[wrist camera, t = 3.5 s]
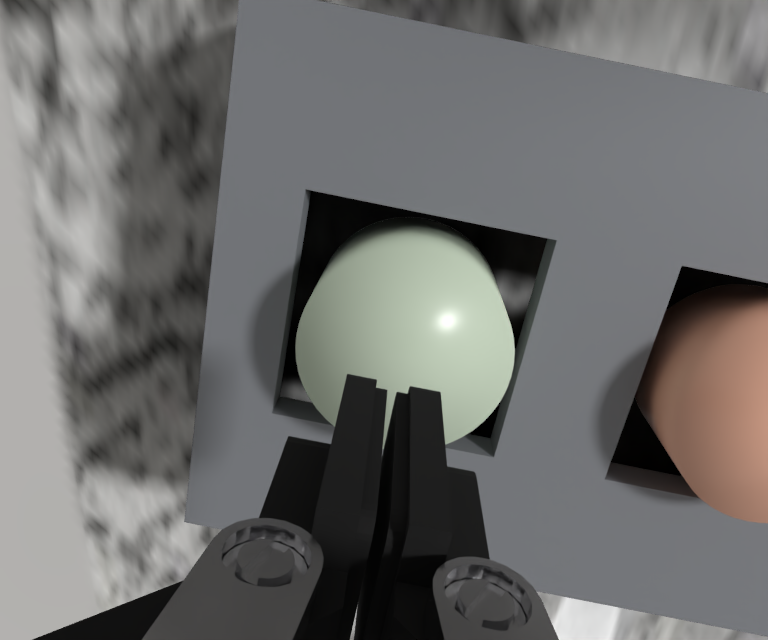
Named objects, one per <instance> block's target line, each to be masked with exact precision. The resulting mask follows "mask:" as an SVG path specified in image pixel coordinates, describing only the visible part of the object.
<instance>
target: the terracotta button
mask: <svg viewBox="0 0 768 640" xmlns="http://www.w3.org/2000/svg"><path fill="white" fill-rule="evenodd" d="M635 399H636V402H637V404H638V406H639V408H640V410H641V412H642V414H643V415H644V417H645V418H646V420H647V422H648V423H649V425H650V426H651V428H652V429H653V431H654V432H655V434H656V436H657V437H658V439H659V440H660V442H661V443H662V445H663V446H664V448H665V450H666V451H667V453H668V454H669V456H670V457H671V459H672V460H673V462H674V463H675V465H676V467H677V468H678V470H679V471H680V473H681V474H682V476H683V477H684V479H685V481H686V482H687V483H688V485H689V486H690V488H691V489H692V490H693V492H694V493H695V494H696V495H697V496H698V497H699V498H700V499H701V500H703V501H704V502H705V503H707V504H708V505H709V506H711V507H712V508H714V509H716V510H718V511H719V512H721V513H723V514H726V515H728V516H731V517H733V518H737V519H741V520H745V521H750V522H757V523H768V288H765V287H761V286H756V285H749V284H729V285H720V286H716V287H712V288H707V289H705V290H702V291H699V292H696V293H694V294H692V295H690V296H688V297H686V298H684V299H682V300H681V301H679V302H677V303H676V304H674V305H673V306H671V307H670V308H669V309H668V310H666V311H665V314H664V316H663V319H662V322H661V325H660V327H659V330H658V333H657V336H656V338H655V341H654V344H653V347H652V350H651V352H650V355H649V358H648V361H647V363H646V366H645V369H644V372H643V374H642V377H641V380H640V383H639V385H638V388H637V391H636V394H635Z"/></svg>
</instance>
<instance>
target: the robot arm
mask: <svg viewBox="0 0 768 640" xmlns="http://www.w3.org/2000/svg"><path fill="white" fill-rule="evenodd" d="M376 385H377V379H372V378H366V377H361V376H356V375H351V374H347V377H346V381H345V385H344V390H343V394H342V398H341V403H340V407H339V411H338V416H337V420H336V424H335V429H334V433H333V437H332V442H331V444H328V443H323V442H318V441H313V440H307V439H302V438H297V437H292V436H288V438H287V441H286V443H285V446H284V449H283V452H282V455H281V457H280V460H279V463H278V466H277V468H276V471H275V474H274V477H273V480H272V482H271V485H270V488H269V491H268V494H267V496H266V499H265V502H264V505H263V508H262V510H261V513H260V516H259V518H251V519H247V520H243V521H238V522H235V523H233V524H232V525H230V526H228V527H226V528H224V529H222V530H221V531H220V532H219V533H218V534H217V535H216V536H215V537H214V538H213V540H212V541H211V542H210V544H209V545H208V547H207V548H206V549H205V551H204V552H203V554H202V555H201V557H200V558H199V559H198V561H197V562H196V564H195V565H194V566H193V568H192V569H191V571H190V572H189V574H188V575H187V576H186V578H185V579H184V581H181V582H179V583H176V584H173V585H171V586H168V587H166V588H163V589H161V590H158V591H156V592H153V593H150V594H148V595H145V596H143V597H140V598H138V599H135V600H133V601H130V602H127V603H125V604H122V605H120V606H117V607H115V608H112V609H110V610H107V611H104V612H102V613H99V614H97V615H94V616H92V617H89V618H87V619H84V620H82V621H79V622H76V623H74V624H71V625H69V626H66V627H64V628H61V629H59V630H56V631H53V632H51V633H48V634H46V635H43V636H41V637H38V638H36V639H33V640H350V635H351V631H352V626H353V622H354V617H355V613H356V609H357V617H356V626H355V635H354V640H559V639H558V637H557V635H556V632H555V630H554V628H553V625H552V623H551V621H550V618H549V616H548V614H547V611H546V609H545V607H544V605H543V602H542V600H541V598H540V597H539V595H538V593H537V592H536V590H535V589H534V587H533V586H532V585H531V584H530V583H529V582H528V581H527V580H526V579H525V578H524V577H523V576H522V575H520V574H519V573H517V572H515V571H514V570H512V569H511V568H509V567H508V566H505V565H503V564H500V563H498V562H495V561H493V560H490V557H489V551H488V545H487V539H486V532H485V526H484V520H483V514H482V508H481V501H480V495H479V489H478V483H477V477H476V473H475V472H474V471H469V470H464V469H459V468H454V467H448V466H447V459H446V447H445V436H444V424H443V413H442V401H441V393H440V392H439V391H433V390H428V389H423V388H418V387H413V386H410V387H409V390H408V394H406V393H401V392H397V393H396V396H395V400H394V405H393V409H392V414H391V418H390V423H389V427H388V432H387V436H386V441H385V445H384V450H383V455H382V448H383V437H384V425H385V414H386V402H387V390H386V389H381V388H376ZM357 604H358V608H357Z"/></svg>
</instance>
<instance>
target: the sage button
mask: <svg viewBox="0 0 768 640" xmlns="http://www.w3.org/2000/svg"><path fill="white" fill-rule="evenodd" d="M295 350H296V363H297V368H298V373H299V376H300V379H301V382H302V385H303V387H304V389H305V391H306V393H307V395H308V397H309V398H310V400H311V401H312V403H313V404H314V406H315V407H316V409H317V410H318V411H319V412H320V413H321V414H322V415H323V417H324V418H325V419H326V420H328V421H329V422H330V423H331V424H332V425H333V426H334V427H335V424H336V420H337V416H338V411H339V407H340V403H341V398H342V394H343V390H344V385H345V381H346V377H347V374H351V375H356V376H361V377H366V378H372V379H377V385H376V388H381V389H386V390H387V402H386V414H385V425H384V437H383V448H382V449H384V445H385V441H386V436H387V432H388V427H389V423H390V418H391V414H392V409H393V405H394V400H395V396H396V393H397V392H401V393H406V394H408V390H409V387H410V386H413V387H418V388H423V389H428V390H433V391H439V392H440V393H441V401H442V413H443V424H444V436H445V444H448V443H451V442H453V441H455V440H457V439H459V438H462V437H463V436H465V435H466V434H468V433H470V432H471V431H473V430H474V429H475V428H477V427H478V426H479V425H480V424H481V423H483V422H484V421H485V420H486V419H487V418H488V417H489V416H490V414H491V413H492V412H493V411H494V410H495V408H496V407H497V405H498V404H499V403H500V401H501V399H502V398H503V396H504V394H505V392H506V390H507V387H508V385H509V382H510V379H511V376H512V371H513V366H514V356H515V346H514V336H513V332H512V327H511V323H510V320H509V317H508V315H507V312H506V309H505V306H504V303H503V300H502V297H501V294H500V292H499V289H498V286H497V283H496V280H495V277H494V275H493V272H492V269H491V267H490V265H489V264H488V262H487V260H486V258H485V257H484V255H483V254H482V253H481V251H480V250H479V249H478V248H477V247H476V246H475V245H474V244H473V243H472V242H471V241H470V240H469V239H468V238H467V237H465V236H464V235H463V234H462V233H460V232H458V231H457V230H455V229H453V228H452V227H450V226H447V225H445V224H443V223H440V222H438V221H434V220H430V219H426V218H419V217H397V218H389V219H386V220H382V221H378V222H375V223H373V224H371V225H368V226H366V227H364V228H362V229H361V230H359V231H357V232H356V233H354V234H353V235H352V236H350V237H349V238H348V239H347V240H346V241H345V242H344V243H343V244H342V245H341V246H340V247H339V248H338V249H337V250H336V252H335V253H334V254H333V256H332V257H331V259H330V260H329V262H328V264H327V266H326V268H325V270H324V272H323V273H322V275H321V277H320V279H319V281H318V283H317V285H316V287H315V289H314V291H313V293H312V295H311V297H310V299H309V301H308V302H307V304H306V306H305V308H304V311H303V313H302V316H301V319H300V321H299V325H298V330H297V334H296V345H295Z"/></svg>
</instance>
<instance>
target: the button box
mask: <svg viewBox="0 0 768 640" xmlns="http://www.w3.org/2000/svg"><path fill="white" fill-rule="evenodd" d="M311 191H316V192H321V193H326V194H331V195H336V196H341V197H346V198H351V199H356V200H361V201H365V202H370V203H375V204H380V205H385V206H390V207H395V208H400V209H405V210H410V211H415V212H420V213H425V214H430V215H434V216H439V217H444V218H449V219H454V220H459V221H464V222H469V223H474V224H479V225H484V226H489V227H494V228H499V229H503V230H508V231H513V232H518V233H523V234H528V235H533V236H538V237H543V238H547V242H546V245H545V249H544V252H543V256H542V259H541V263H540V266H539V270H538V273H537V277H536V280H535V284H534V287H533V291H532V294H531V298H530V301H529V305H528V308H527V312H526V315H525V319H524V322H523V326H522V330H521V333H520V337H519V340H518V344H517V347H516V351H515V356H514V366H513V371H512V376H511V379H510V382H509V385H508V387H507V390H506V392H505V394H504V396H503V398H502V400H501V403H500V407H499V410H498V414H497V417H496V421H495V424H494V428H493V431H492V435H491V438H486V437H481V436H476V435H471V434H466V435H465V436H463V437H462V438H459V439H457V440H455V441H453V442H451V443H448V444H445V447H446V459H447V466H448V467H454V468H459V469H464V470H469V471H474V472H475V473H476V477H477V483H478V489H479V495H480V501H481V508H482V514H483V520H484V526H485V532H486V539H487V545H488V551H489V557H490V560H493V561H495V562H498V563H500V564H503V565H505V566H508V567H509V568H511V569H512V570H514V571H515V572H517V573H519V574H520V575H522V576H523V577H524V578H525V579H526V580H527V581H528V582H529V583H530V584H531V585H532V586H533V587H534V589H535V590H536V591H538V592H543V593H548V594H554V595H559V596H564V597H569V598H574V599H579V600H584V601H589V602H594V603H599V604H604V605H610V606H615V607H620V608H625V609H630V610H635V611H640V612H645V613H650V614H655V615H661V616H666V617H671V618H676V619H681V620H686V621H691V622H696V623H701V624H706V625H711V626H717V627H722V628H727V629H732V630H737V631H742V632H747V633H752V634H757V635H762V636H768V523H757V522H750V521H745V520H741V519H737V518H733V517H731V516H728V515H726V514H723V513H721V512H719V511H718V510H716V509H714V508H712V507H711V506H709V505H708V504H707V503H705V502H704V501H703V500H701V499H700V498H699V497H698V496H697V495H696V494H695V493H694V492H693V490H692V489H691V488H690V486H689V485H688V483H687V482H686V481H685V479H684V477H682V476H677V475H672V474H667V473H662V472H657V471H652V470H647V469H642V468H637V467H632V466H627V465H622V464H617V463H612V462H611V460H612V457H613V454H614V452H615V449H616V446H617V443H618V441H619V438H620V435H621V432H622V430H623V427H624V424H625V421H626V419H627V416H628V413H629V410H630V407H631V405H632V402H633V399H634V396H635V394H636V391H637V388H638V385H639V383H640V380H641V377H642V374H643V372H644V369H645V366H646V363H647V361H648V358H649V355H650V352H651V350H652V347H653V344H654V341H655V338H656V336H657V333H658V330H659V327H660V325H661V322H662V319H663V316H664V314H665V311H666V308H667V305H668V303H669V300H670V297H671V294H672V292H673V289H674V286H675V283H676V280H677V278H678V275H679V272H680V269H681V267H682V266H686V267H691V268H696V269H701V270H706V271H711V272H715V273H720V274H725V275H730V276H735V277H740V278H745V279H750V280H755V281H760V282H765V283H768V93H764V92H760V91H755V90H750V89H745V88H740V87H735V86H730V85H726V84H721V83H716V82H711V81H706V80H701V79H697V78H692V77H687V76H682V75H677V74H672V73H667V72H663V71H658V70H653V69H648V68H643V67H638V66H634V65H629V64H624V63H619V62H614V61H609V60H604V59H600V58H595V57H590V56H585V55H580V54H575V53H571V52H566V51H561V50H556V49H551V48H546V47H541V46H537V45H532V44H527V43H522V42H517V41H512V40H508V39H503V38H498V37H493V36H488V35H483V34H478V33H474V32H469V31H464V30H459V29H454V28H449V27H445V26H440V25H435V24H430V23H425V22H420V21H416V20H411V19H406V18H401V17H396V16H391V15H386V14H382V13H377V12H372V11H367V10H362V9H357V8H353V7H348V6H343V5H338V4H333V3H328V2H323V1H319V0H239V6H238V15H237V25H236V34H235V44H234V54H233V63H232V73H231V82H230V92H229V101H228V111H227V120H226V130H225V139H224V149H223V158H222V168H221V178H220V187H219V197H218V206H217V216H216V225H215V235H214V244H213V254H212V263H211V273H210V282H209V292H208V302H207V311H206V321H205V330H204V340H203V349H202V359H201V368H200V378H199V387H198V397H197V406H196V416H195V426H194V435H193V445H192V454H191V464H190V473H189V483H188V492H187V502H186V511H185V521H184V522H187V523H192V524H197V525H202V526H207V527H212V528H217V529H224V528H226V527H228V526H230V525H232V524H233V523H235V522H238V521H243V520H247V519H251V518H259V516H260V513H261V510H262V508H263V505H264V502H265V499H266V496H267V494H268V491H269V488H270V485H271V482H272V480H273V477H274V474H275V471H276V468H277V466H278V463H279V460H280V457H281V455H282V452H283V449H284V446H285V443H286V441H287V438H288V436H292V437H297V438H302V439H307V440H313V441H318V442H323V443H328V444H331V442H332V437H333V433H334V429H335V427H334V426H333V425H332V424H331V423H330V422H329V421H328V420H326V419H325V418H324V417H323V415H322V414H321V413H320V412H319V411H318V410H317V409H316V407H315V406H314V404H313V403H310V402H305V401H300V400H295V399H290V398H285V397H280V390H281V383H282V377H283V370H284V364H285V357H286V351H287V344H288V338H289V331H290V325H291V318H292V312H293V305H294V298H295V292H296V285H297V279H298V272H299V266H300V259H301V253H302V246H303V240H304V233H305V227H306V220H307V214H308V207H309V200H310V194H311ZM383 450H384V449H382V455H383Z"/></svg>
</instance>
